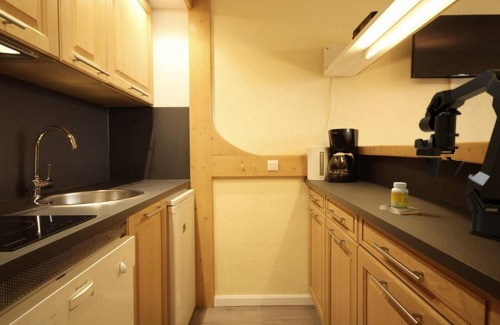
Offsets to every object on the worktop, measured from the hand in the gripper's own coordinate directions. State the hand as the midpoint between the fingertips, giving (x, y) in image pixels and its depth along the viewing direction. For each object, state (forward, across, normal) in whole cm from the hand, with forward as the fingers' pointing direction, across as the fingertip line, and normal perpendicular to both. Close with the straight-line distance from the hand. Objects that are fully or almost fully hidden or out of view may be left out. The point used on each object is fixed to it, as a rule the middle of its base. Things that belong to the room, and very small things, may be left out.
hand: (442, 177), depth 87 cm
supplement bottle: (+13, +6, -11) cm, 18 cm away
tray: (+13, +6, -11) cm, 18 cm away
